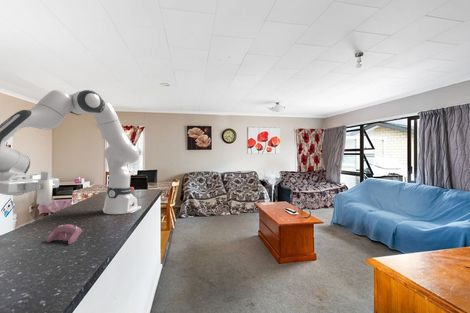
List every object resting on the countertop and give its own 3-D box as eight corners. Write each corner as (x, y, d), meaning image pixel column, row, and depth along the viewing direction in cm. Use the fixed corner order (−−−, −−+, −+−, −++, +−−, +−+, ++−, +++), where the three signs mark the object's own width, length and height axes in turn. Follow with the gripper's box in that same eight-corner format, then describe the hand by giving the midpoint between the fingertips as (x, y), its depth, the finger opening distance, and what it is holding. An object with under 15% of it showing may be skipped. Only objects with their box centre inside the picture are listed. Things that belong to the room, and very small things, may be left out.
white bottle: (42, 202, 86) (44, 171, 86) (53, 203, 85) (55, 172, 86) (33, 203, 83) (36, 171, 83) (45, 205, 82) (48, 172, 83)
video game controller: (78, 246, 83) (85, 226, 86) (69, 244, 78) (77, 224, 82) (53, 243, 83) (62, 224, 87) (43, 241, 79) (53, 221, 83)
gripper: (-18, 177, 76) (17, 180, 74) (42, 174, 96) (70, 176, 94) (-19, 196, 76) (15, 199, 74) (41, 188, 96) (69, 191, 94)
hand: (47, 186), depth 84 cm, fingers closed on white bottle, 3 cm apart
